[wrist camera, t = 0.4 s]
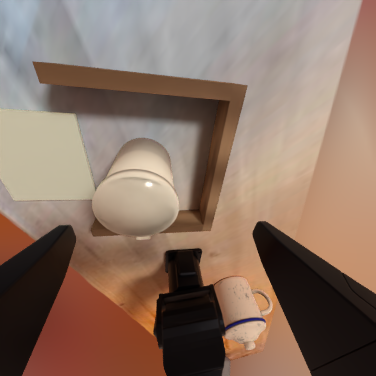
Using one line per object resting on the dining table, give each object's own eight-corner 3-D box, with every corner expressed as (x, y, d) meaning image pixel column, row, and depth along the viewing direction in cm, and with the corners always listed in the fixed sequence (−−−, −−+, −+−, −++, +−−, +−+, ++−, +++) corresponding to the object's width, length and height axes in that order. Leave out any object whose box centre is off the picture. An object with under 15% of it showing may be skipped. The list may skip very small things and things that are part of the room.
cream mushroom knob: (111, 134, 17) (81, 173, 10) (173, 137, 18) (181, 174, 12) (122, 201, 22) (106, 256, 15) (170, 201, 23) (175, 251, 17)
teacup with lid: (215, 296, 44) (230, 358, 34) (208, 281, 38) (224, 350, 29) (259, 284, 43) (287, 343, 34) (258, 267, 38) (291, 332, 28)
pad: (98, 198, 21) (97, 199, 21) (16, 199, 19) (14, 200, 19) (75, 113, 15) (74, 114, 15) (-43, 105, 14) (-47, 106, 14)
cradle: (205, 215, 26) (210, 230, 23) (100, 219, 23) (93, 236, 21) (234, 83, 16) (247, 85, 13) (55, 63, 13) (32, 61, 11)
